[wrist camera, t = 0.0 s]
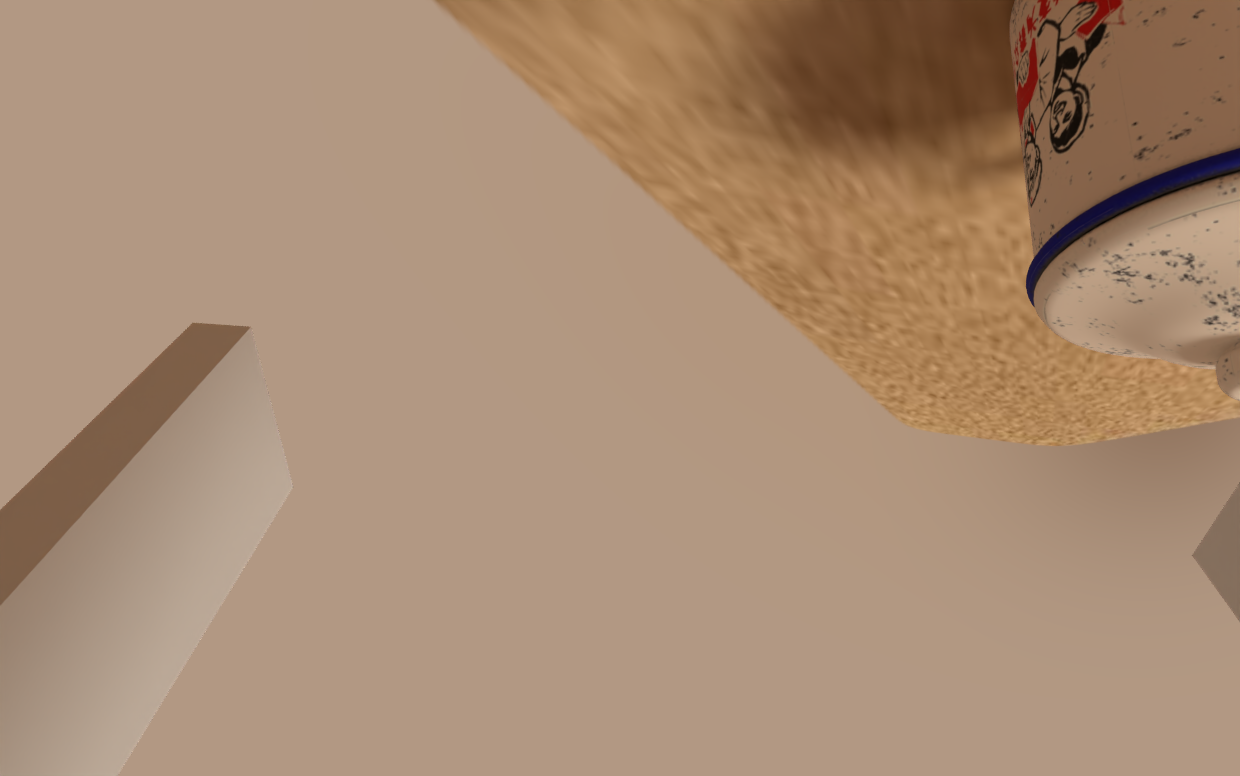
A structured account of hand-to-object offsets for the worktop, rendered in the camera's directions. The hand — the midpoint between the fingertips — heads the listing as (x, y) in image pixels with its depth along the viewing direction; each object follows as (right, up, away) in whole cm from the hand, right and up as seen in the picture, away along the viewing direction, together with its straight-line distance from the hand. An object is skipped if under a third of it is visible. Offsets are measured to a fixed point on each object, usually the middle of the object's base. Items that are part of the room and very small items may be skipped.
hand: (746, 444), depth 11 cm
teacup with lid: (+14, +11, +11) cm, 21 cm away
